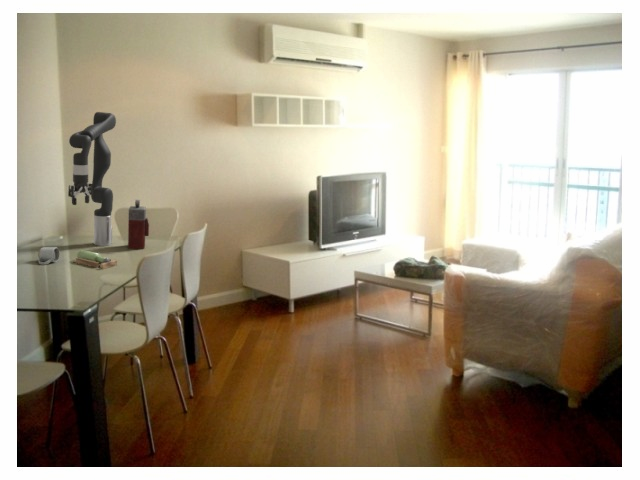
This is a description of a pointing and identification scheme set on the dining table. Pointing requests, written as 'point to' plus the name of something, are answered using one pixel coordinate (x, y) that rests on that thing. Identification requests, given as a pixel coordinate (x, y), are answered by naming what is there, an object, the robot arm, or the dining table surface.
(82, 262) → the rest
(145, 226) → the dark red tall container
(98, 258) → the bottle
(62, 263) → the dining table surface
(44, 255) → the ceramic mug
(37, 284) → the dining table surface
